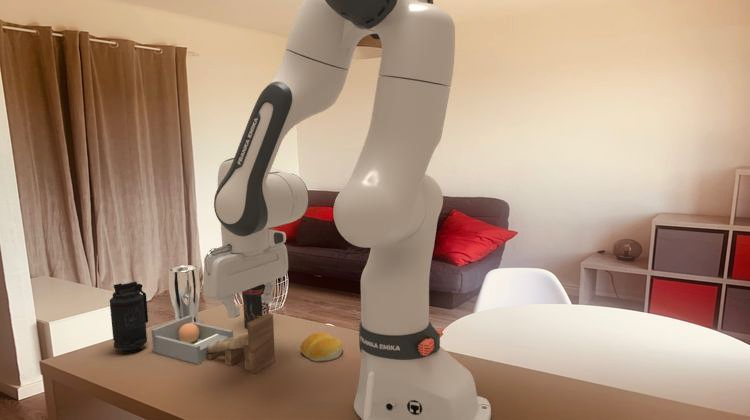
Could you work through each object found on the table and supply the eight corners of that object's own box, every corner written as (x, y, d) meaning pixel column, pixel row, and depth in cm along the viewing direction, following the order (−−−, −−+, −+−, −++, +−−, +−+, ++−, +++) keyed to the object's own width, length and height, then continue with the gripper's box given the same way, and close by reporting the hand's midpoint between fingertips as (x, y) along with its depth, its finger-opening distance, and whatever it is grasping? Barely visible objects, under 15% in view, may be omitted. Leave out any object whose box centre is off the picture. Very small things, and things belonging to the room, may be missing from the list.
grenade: (123, 358, 104) (117, 288, 102) (108, 351, 108) (102, 284, 106) (156, 347, 109) (150, 280, 107) (140, 340, 113) (135, 276, 111)
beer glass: (165, 332, 118) (160, 271, 116) (184, 322, 125) (180, 264, 123) (190, 335, 116) (186, 272, 114) (208, 324, 123) (204, 265, 121)
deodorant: (262, 330, 118) (259, 269, 116) (240, 329, 119) (236, 268, 117) (273, 322, 123) (270, 263, 122) (251, 320, 125) (248, 262, 123)
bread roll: (319, 366, 99) (318, 347, 98) (295, 353, 105) (294, 335, 105) (351, 354, 104) (351, 336, 103) (326, 342, 111) (326, 325, 110)
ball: (183, 317, 111) (185, 328, 114) (173, 332, 108) (175, 344, 110) (202, 322, 111) (203, 333, 114) (192, 337, 107) (194, 349, 110)
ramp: (275, 361, 101) (272, 314, 99) (254, 373, 96) (251, 323, 94) (225, 349, 107) (222, 304, 106) (203, 359, 102) (200, 313, 101)
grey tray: (234, 346, 109) (232, 324, 108) (197, 364, 100) (196, 340, 100) (190, 335, 115) (189, 315, 115) (153, 351, 107) (151, 329, 106)
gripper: (216, 251, 86) (223, 328, 87) (291, 232, 104) (295, 296, 105) (191, 249, 89) (198, 324, 90) (267, 231, 107) (272, 294, 108)
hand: (251, 309), depth 98 cm, fingers open, 8 cm apart
